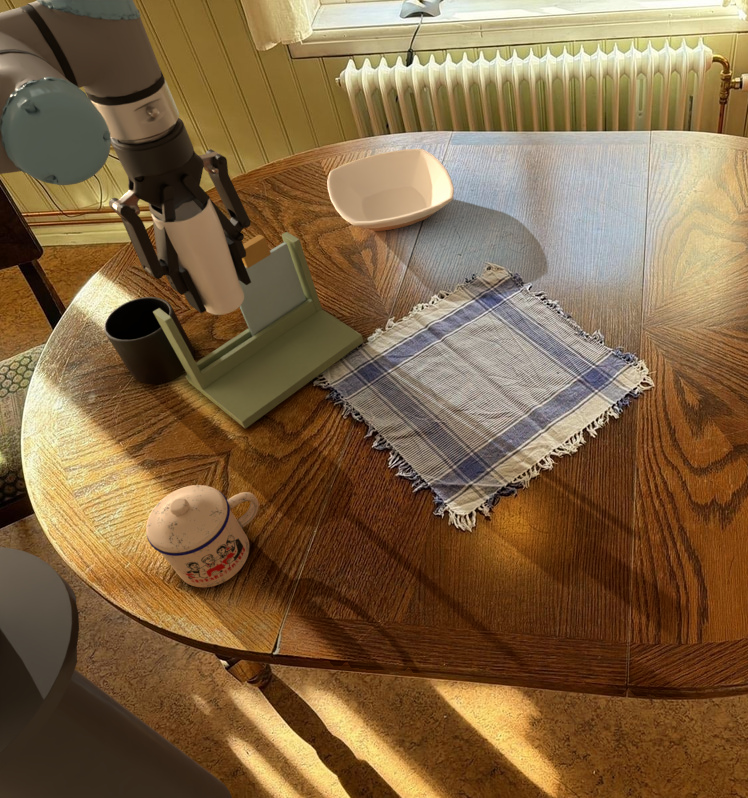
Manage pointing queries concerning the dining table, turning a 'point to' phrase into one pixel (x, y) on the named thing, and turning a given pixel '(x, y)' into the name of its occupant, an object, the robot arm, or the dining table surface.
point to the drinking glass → (205, 256)
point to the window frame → (268, 353)
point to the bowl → (390, 189)
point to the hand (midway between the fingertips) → (220, 293)
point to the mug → (145, 340)
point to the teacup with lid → (201, 533)
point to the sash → (269, 284)
